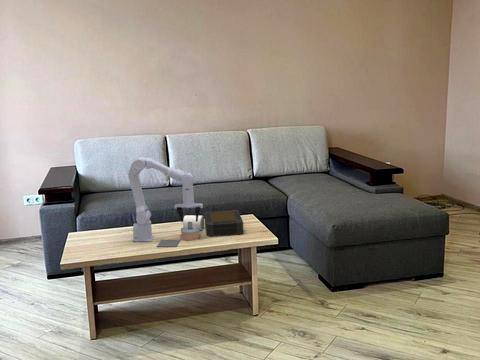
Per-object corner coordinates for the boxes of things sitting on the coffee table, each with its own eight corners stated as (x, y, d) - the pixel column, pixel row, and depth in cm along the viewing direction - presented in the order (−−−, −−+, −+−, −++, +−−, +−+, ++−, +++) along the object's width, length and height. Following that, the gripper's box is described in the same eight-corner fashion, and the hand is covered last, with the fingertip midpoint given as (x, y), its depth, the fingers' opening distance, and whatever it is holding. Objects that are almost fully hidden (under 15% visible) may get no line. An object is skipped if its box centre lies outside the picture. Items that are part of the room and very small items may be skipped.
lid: (180, 228, 269) (179, 220, 268) (199, 227, 270) (198, 219, 269) (181, 234, 259) (180, 225, 258) (200, 232, 260) (200, 224, 260)
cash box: (245, 235, 268) (244, 221, 266) (207, 237, 266) (206, 223, 264) (239, 221, 292) (239, 209, 290) (204, 224, 290) (204, 211, 288)
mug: (200, 231, 275) (199, 217, 273) (183, 231, 277) (182, 217, 276) (206, 225, 287) (205, 212, 285) (189, 225, 289) (189, 211, 287)
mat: (157, 247, 252) (157, 246, 252) (161, 240, 262) (161, 239, 262) (176, 246, 252) (176, 245, 252) (180, 240, 262) (180, 239, 261)
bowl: (180, 240, 261) (180, 233, 260) (183, 235, 270) (183, 228, 269) (198, 240, 261) (197, 233, 260) (200, 235, 269) (199, 227, 269)
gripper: (173, 198, 257) (174, 223, 260) (201, 197, 256) (202, 223, 259) (175, 195, 264) (176, 219, 267) (202, 194, 263) (204, 219, 266)
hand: (189, 221), depth 263 cm, fingers open, 7 cm apart
